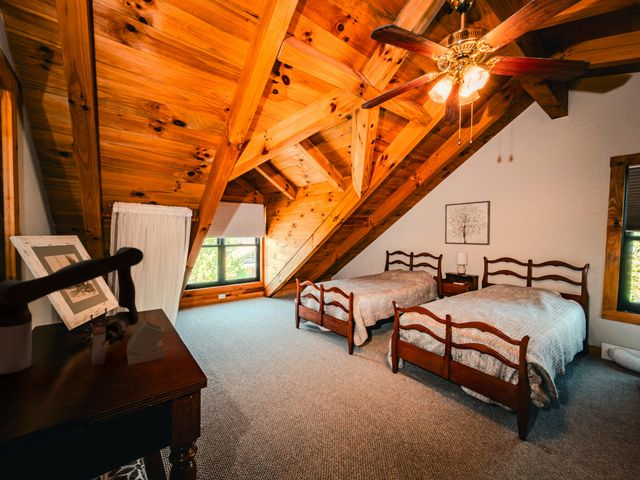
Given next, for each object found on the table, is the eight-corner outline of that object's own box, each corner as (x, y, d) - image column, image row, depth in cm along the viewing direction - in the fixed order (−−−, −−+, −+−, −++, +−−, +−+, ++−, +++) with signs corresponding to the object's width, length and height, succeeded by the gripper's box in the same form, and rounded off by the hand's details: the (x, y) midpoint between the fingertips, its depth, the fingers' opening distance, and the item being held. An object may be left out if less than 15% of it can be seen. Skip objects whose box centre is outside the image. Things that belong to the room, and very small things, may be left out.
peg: (91, 366, 108) (92, 330, 108) (91, 362, 112) (92, 327, 111) (104, 363, 111) (105, 328, 111) (104, 359, 114) (105, 325, 114)
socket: (128, 365, 110) (129, 328, 110) (126, 355, 119) (127, 320, 119) (165, 357, 118) (166, 323, 118) (161, 348, 127) (162, 316, 127)
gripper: (94, 322, 123) (74, 335, 107) (131, 320, 127) (118, 333, 112) (93, 339, 123) (74, 354, 107) (131, 336, 127) (117, 351, 112)
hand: (96, 343), depth 110 cm, fingers open, 8 cm apart
